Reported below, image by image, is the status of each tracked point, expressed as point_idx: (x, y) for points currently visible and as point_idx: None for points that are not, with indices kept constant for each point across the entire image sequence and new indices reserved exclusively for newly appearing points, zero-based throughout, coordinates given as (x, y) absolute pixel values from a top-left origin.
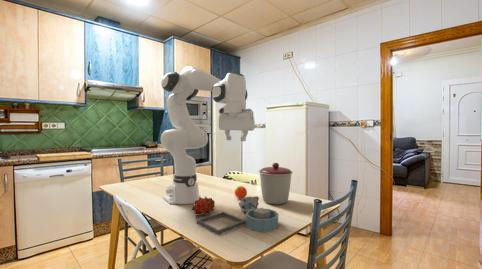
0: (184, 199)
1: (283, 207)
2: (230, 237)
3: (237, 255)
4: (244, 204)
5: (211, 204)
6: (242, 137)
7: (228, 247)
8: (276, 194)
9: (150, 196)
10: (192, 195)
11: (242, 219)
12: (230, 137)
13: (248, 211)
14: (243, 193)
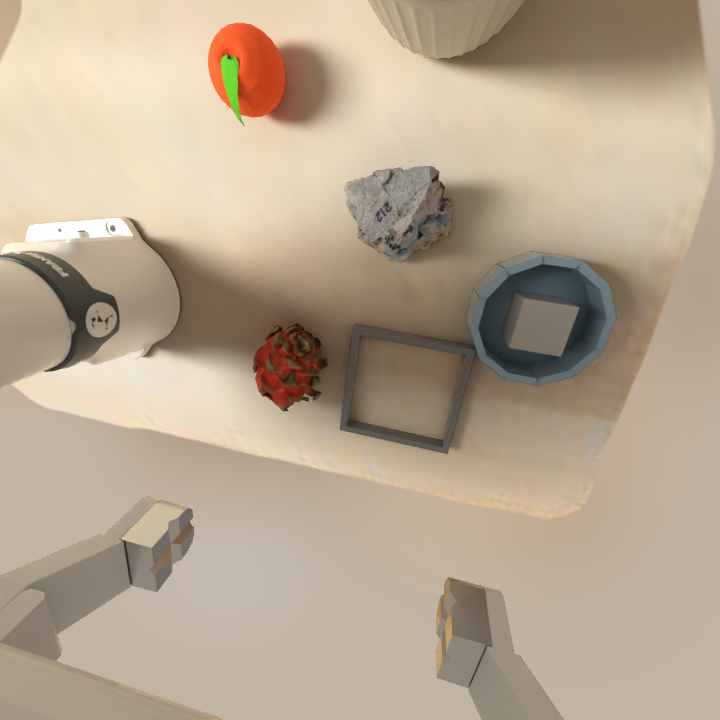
0: (158, 330)
1: (536, 42)
2: (485, 441)
3: (555, 499)
4: (398, 249)
5: (312, 362)
6: (482, 688)
7: (513, 482)
8: (503, 20)
9: None
10: (153, 301)
11: (461, 349)
12: (165, 547)
13: (476, 334)
14: (278, 88)
